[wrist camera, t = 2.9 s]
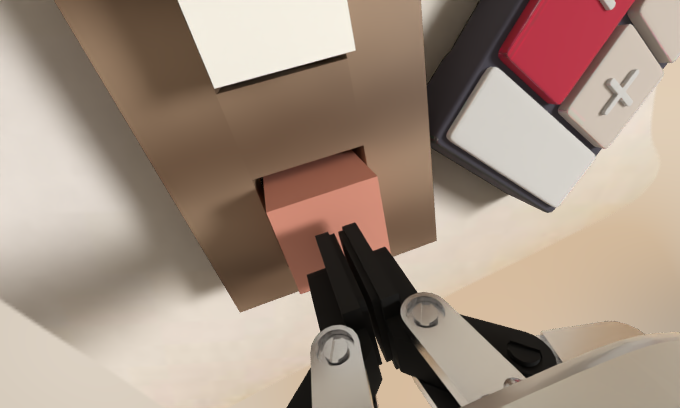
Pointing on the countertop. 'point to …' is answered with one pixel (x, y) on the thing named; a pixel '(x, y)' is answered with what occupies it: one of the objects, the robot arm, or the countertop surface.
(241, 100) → the key panel
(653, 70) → the calculator
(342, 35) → the white key
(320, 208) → the salmon pink key
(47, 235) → the countertop surface
